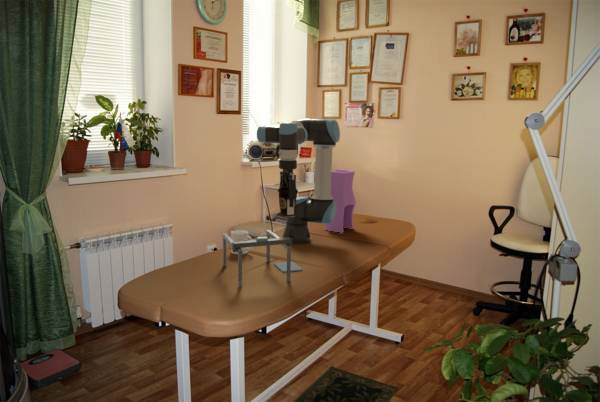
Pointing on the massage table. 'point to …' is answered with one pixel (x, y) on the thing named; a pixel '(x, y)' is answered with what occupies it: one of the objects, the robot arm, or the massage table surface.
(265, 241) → the bar
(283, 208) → the coffee cup
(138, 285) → the massage table surface
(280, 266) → the mat
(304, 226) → the robot arm
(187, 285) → the massage table surface
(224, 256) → the frame
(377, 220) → the massage table surface
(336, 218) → the purple arched stand
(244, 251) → the mug
